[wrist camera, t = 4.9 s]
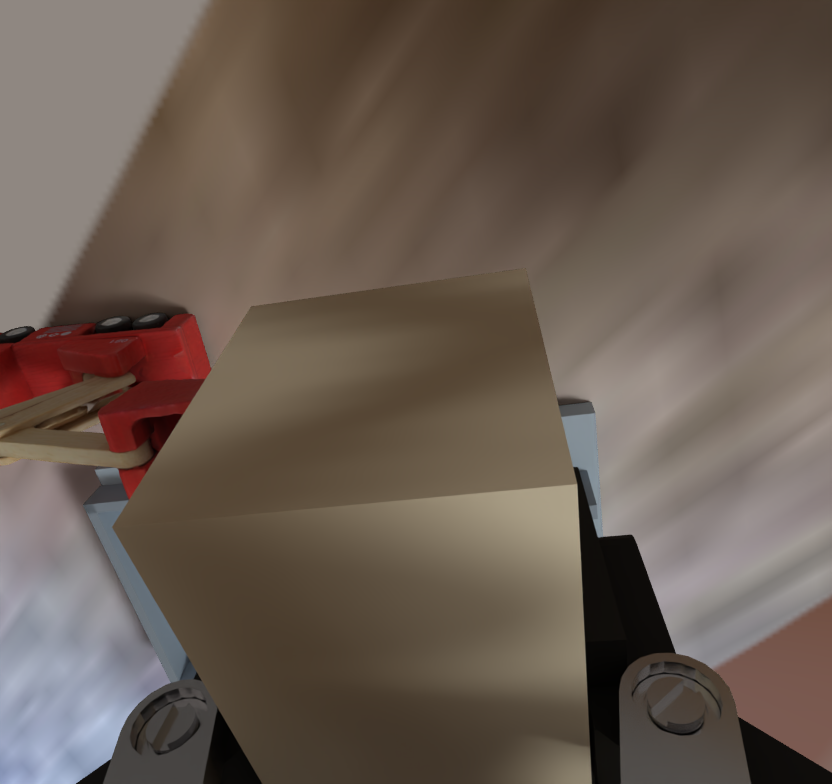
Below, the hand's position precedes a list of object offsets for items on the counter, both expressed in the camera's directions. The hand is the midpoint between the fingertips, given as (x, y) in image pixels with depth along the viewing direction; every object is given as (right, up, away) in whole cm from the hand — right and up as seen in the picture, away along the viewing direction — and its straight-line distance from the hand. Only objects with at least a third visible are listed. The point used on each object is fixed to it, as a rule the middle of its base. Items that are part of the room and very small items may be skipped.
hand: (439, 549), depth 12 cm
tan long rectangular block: (0, 0, 0) cm, 0 cm away
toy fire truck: (-12, +5, +16) cm, 21 cm away
